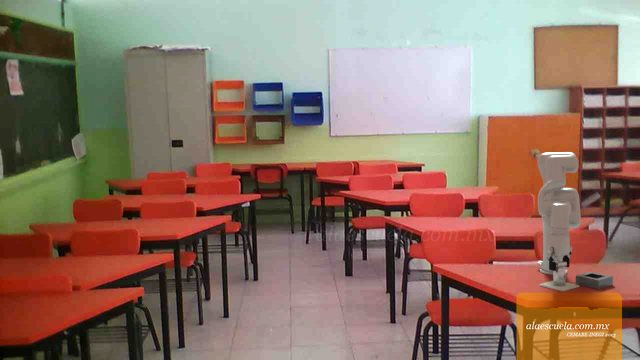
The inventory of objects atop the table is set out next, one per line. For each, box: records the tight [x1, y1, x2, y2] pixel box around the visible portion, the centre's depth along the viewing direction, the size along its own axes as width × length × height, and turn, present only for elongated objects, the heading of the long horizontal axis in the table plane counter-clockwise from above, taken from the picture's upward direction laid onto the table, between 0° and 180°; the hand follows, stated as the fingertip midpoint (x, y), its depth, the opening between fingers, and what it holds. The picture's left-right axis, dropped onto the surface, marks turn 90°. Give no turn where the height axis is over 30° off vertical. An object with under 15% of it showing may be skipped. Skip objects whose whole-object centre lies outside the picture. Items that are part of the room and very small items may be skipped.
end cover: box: [552, 260, 567, 286], centre depth 266 cm, size 6×6×10 cm
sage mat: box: [538, 280, 580, 292], centre depth 267 cm, size 12×12×1 cm
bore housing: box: [575, 271, 614, 290], centre depth 268 cm, size 11×11×4 cm
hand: (559, 268), depth 266 cm, fingers open, 9 cm apart
